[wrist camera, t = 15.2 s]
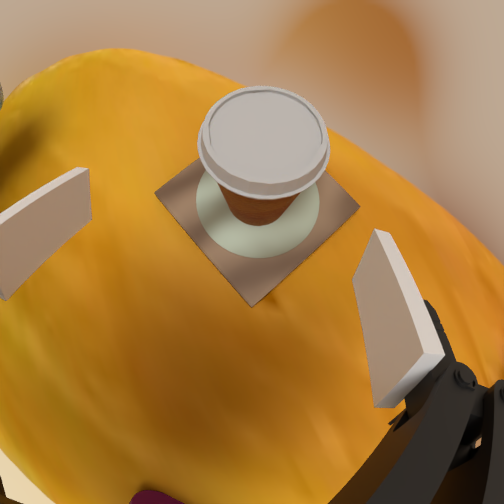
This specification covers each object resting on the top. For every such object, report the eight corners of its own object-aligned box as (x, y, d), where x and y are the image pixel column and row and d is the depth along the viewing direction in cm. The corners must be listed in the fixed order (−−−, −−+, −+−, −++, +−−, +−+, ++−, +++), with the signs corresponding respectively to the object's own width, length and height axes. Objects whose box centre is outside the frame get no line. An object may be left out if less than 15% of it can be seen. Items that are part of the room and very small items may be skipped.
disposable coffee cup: (238, 258, 29) (236, 217, 17) (196, 181, 30) (174, 109, 19) (319, 215, 30) (361, 157, 18) (273, 146, 32) (287, 69, 20)
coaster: (157, 196, 31) (153, 192, 30) (262, 120, 34) (263, 113, 33) (251, 307, 29) (251, 307, 28) (356, 210, 32) (361, 205, 30)
